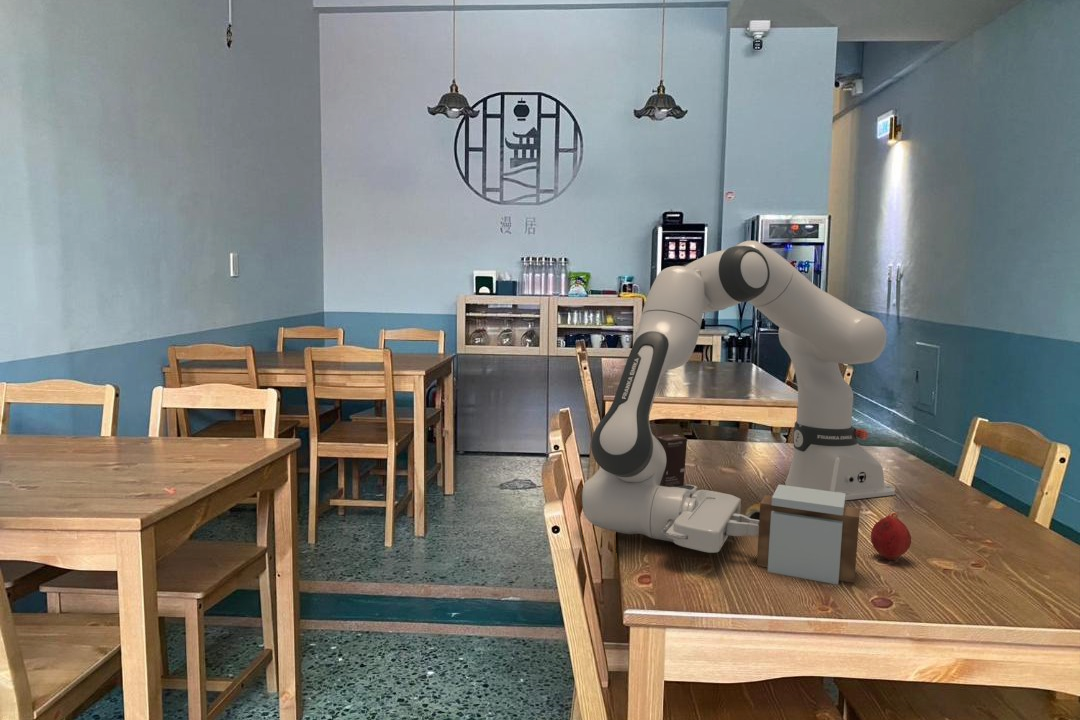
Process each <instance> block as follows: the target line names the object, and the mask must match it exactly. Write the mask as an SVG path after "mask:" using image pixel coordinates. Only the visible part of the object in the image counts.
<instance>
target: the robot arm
mask: <svg viewBox="0 0 1080 720" xmlns="http://www.w3.org/2000/svg"><path fill="white" fill-rule="evenodd" d="M747 302H748V303H749V304H750V305H752V306H753V307H754V308H755V309H757V310H758V311H759V312H760V313H761V314H763V315H764V316H765V317H766V318H767V319H768V320H770V321H771V322H772V323H773V324H774V325H775V326H777V327H778V339H779V343H780V346H781V347H782V348H783V349H784V350H785V352H787V354H788V356H789V358H790V361H791V363H792V365H793V370H794V375H795V378H796V384H797V410H796V411H797V415H796V421H795V422H794V425H793V426H794V429H793V447H794V448H793V454H792V458H791V464H790V467H789V471H788V474H787V477H786V480H785V483H784V485H786V486H794V487H801V488H809V489H816V490H824V491H832V492H839V493H846V496H845V501H850V500H860V499H861V500H862V499H867V498H870V499H871V498H876V497H877V498H878V497H887V496H895V495H896V490H895V488H894V487H893V486H892V485H890V484H888V483H886V482H885V477H884V469H883V466H882V464H881V462H880V461H879V460H878V459H877V458H876V457H874V456H873V455H872V454H871V453H869V452H868V451H867V450H865V449H864V448H863V446H861V445H860V444H859V442H858V439H861V440H867V438H869V431H867V430H865V429H862V428H857V429H856V428H855V427H854V426H853V425H852V421H853V418H852V417H853V409H854V392H853V388H852V387H851V385H850V384H849V383H848V382H847V381H846V380H845V378H844V376H843V375H842V373H841V370H840V366H839V364H843V365H858V364H859V365H860V364H869V363H872V362H875V360H877V359H878V358H879V357H880V356H881V355H882V353H883V351H884V350H885V347H886V344H887V333H886V328H885V326H884V324H883V322H882V321H881V320H880V319H878V318H877V317H875V316H872V315H869V314H868V313H865V312H862V311H860V310H858V309H856V308H854V307H852V306H850V305H849V304H847V303H846V302H844V301H842V300H840V299H839V298H838V297H835V296H833V295H832V294H830V293H828V292H826V291H825V290H823V289H821V288H819V287H818V286H817V285H815V283H813V282H811V280H809V279H808V278H807V277H806V276H805V275H804V274H802V273H801V272H800V271H799V270H798V269H797V268H796V267H795V266H793V265H792V264H791V263H790V262H789V261H788V260H787V259H786V258H785V257H783V256H782V255H780V254H779V253H777V252H776V251H775V250H773V249H771V248H770V247H769V246H767V245H765V244H764V243H761V242H760V241H758V240H745V241H743V242H740V243H739V244H737V245H735V246H731V247H729V248H727V249H723V250H718V251H713V252H711V253H709V254H705V255H704V256H702V257H700V258H697V259H696V260H693V261H691V262H688V263H685V264H683V265H673V266H669V267H666V268H663V269H662V270H661V271H660V272H659V273H658V274H657V275H656V278H655V279H654V281H653V283H652V285H651V287H650V289H649V292H648V294H647V296H646V300H645V303H644V305H643V310H642V312H641V316H640V320H639V323H638V327H637V332H636V336H635V339H634V342H633V344H632V348H631V350H630V351H629V355H628V356H627V360H626V364H625V365H624V368H623V371H622V375H621V377H620V380H619V383H618V387H617V389H616V391H615V395H614V398H613V400H612V402H611V404H610V407H609V408H608V410H607V412H606V413H605V414H604V416H603V417H602V419H601V420H600V421H599V423H598V424H597V426H596V427H595V429H594V431H593V434H592V436H591V442H590V443H591V444H590V446H591V453H592V456H593V459H594V460H595V462H596V464H597V466H598V467H599V469H598V470H597V471H596V472H595V473H594V474H593V475H592V476H591V477H590V478H588V479H587V480H586V481H585V482H584V484H583V487H582V489H581V499H580V500H581V507H582V511H583V515H584V516H585V518H586V519H587V521H588V522H589V523H590V524H592V525H593V526H595V527H597V528H601V529H603V530H608V531H612V532H616V533H621V534H626V535H634V534H635V535H636V534H638V535H639V534H640V535H644V536H646V537H648V538H651V539H655V540H659V541H660V540H661V541H666V542H670V543H674V544H675V545H677V546H679V547H683V548H687V549H690V550H695V551H699V552H703V553H710V554H714V553H718V552H720V551H721V549H722V547H723V546H724V544H725V542H726V541H727V539H728V537H729V536H731V537H732V536H733V537H740V536H741V537H742V536H752V537H758V535H759V520H756V519H751V518H749V517H746V516H744V515H745V514H742V513H741V511H742V508H741V507H742V500H741V498H740V497H737V496H735V495H734V494H729V493H724V492H720V491H714V490H709V489H698V486H696V485H694V484H684V485H683V486H680V487H665V486H660V484H661V481H662V478H663V475H664V472H665V468H666V463H667V457H666V453H665V450H664V448H663V446H662V445H661V443H660V442H659V441H658V440H657V438H656V437H655V436H656V435H654V434H653V433H652V428H651V425H650V415H651V412H652V411H651V410H652V408H653V404H654V401H655V399H656V398H655V397H656V395H657V391H658V388H659V385H660V381H661V379H662V376H663V375H664V373H665V372H666V371H667V370H669V371H670V370H674V369H675V370H676V369H678V368H680V367H682V366H684V365H685V364H686V363H687V362H689V361H690V359H691V357H692V355H693V353H694V350H695V348H696V346H697V342H698V339H699V336H700V335H699V334H700V331H701V327H702V321H703V316H704V314H705V313H712V312H718V311H722V310H726V309H728V308H731V307H733V306H736V305H739V304H740V303H741V304H742V303H747Z"/></svg>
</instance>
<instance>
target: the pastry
mask: <svg viewBox="0 0 1080 720" xmlns="http://www.w3.org/2000/svg"><path fill="white" fill-rule="evenodd" d="M760 503H761V502H760ZM760 503H754V504H752V505H749V506H748V507H747V508H746V510H745V513H744V514H743V515H744V516H746V517H749V518H751V519H756V520H759V517H760Z"/></svg>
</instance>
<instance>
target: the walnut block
mask: <svg viewBox="0 0 1080 720" xmlns="http://www.w3.org/2000/svg"><path fill="white" fill-rule="evenodd" d="M772 497H773V495H769V494H768V495H767V494H764V496H763V498H762V500H761V501H760V517H759V535H758V536H757V537H758V538H757V556H756V566H758V567H763V568H767V569H768V556H769V539H770V523H771V512H772V511H777V512H783V513H790V514H797V515H804V516H810V517H817V518H824V519H831V520H838V521H843V525H842V540H841V554H840V568H839V581H841V582H846V583H852V584H855V580H856V578H855V577H856V567H857V566H856V565H857V552H858V541H859V540H858V538H859V537H858V536H859V527H860V526H859V525H860V523H859V522H860V512H861V508H859V507H854V506H847V505H844V512H843V516H842V515H835V514H828V513H821V512H814V511H807V510H800V509H794V508H787V507H780V506H773V505H772Z"/></svg>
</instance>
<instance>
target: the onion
mask: <svg viewBox="0 0 1080 720" xmlns="http://www.w3.org/2000/svg"><path fill="white" fill-rule="evenodd" d="M898 517H899V514H898V513H897V512H896V511H892V512H891V511H890V513H889V514H887V515H886V517H883V518H881V519H879V521H877V522H875V524H874V525H873V526H872V529H871V531H870V542H871V544H872V546H873V548H874V550H875V551H876V552H877V553H878V554H879V555H880V556H882V557H883V558H884V559H885V560H887V561H894V560H896V559H897V558H898V557H901V556H902V555H904V554H905V553H907V552H908V550H909V549H910V547H911V544H912V537H911V533H910V531H909V529H908V527H907V526H906V524H904V522H903V521H902V520H900V519H899V518H898Z"/></svg>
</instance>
